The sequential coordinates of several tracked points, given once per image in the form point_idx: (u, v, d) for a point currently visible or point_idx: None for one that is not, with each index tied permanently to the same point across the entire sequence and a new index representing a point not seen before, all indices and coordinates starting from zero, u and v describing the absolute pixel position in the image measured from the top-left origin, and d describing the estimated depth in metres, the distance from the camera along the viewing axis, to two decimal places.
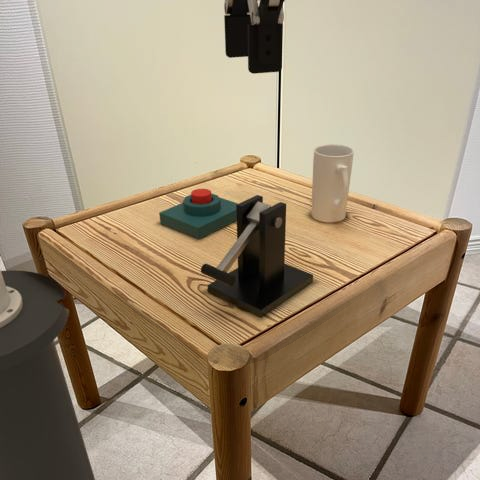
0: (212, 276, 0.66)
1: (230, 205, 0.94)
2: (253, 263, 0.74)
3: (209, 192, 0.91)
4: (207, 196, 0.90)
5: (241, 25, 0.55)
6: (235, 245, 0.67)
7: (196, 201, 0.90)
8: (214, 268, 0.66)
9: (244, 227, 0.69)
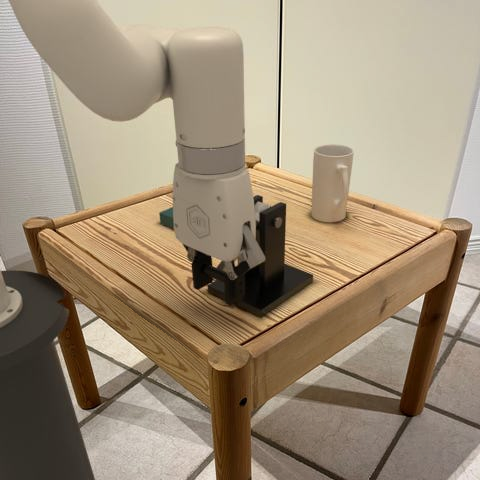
0: (212, 276, 0.66)
1: None
2: None
3: None
4: None
5: None
6: None
7: None
8: (214, 268, 0.66)
9: None
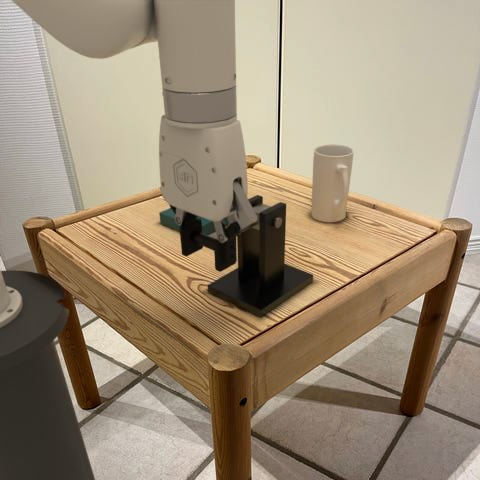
0: (202, 241, 0.62)
1: None
2: (253, 263, 0.74)
3: None
4: None
5: None
6: None
7: None
8: (206, 235, 0.63)
9: None
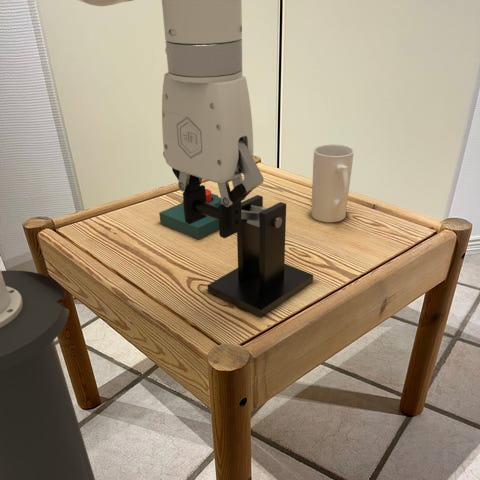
0: (206, 207, 0.60)
1: None
2: (253, 263, 0.74)
3: (209, 192, 0.91)
4: (207, 196, 0.90)
5: (197, 197, 0.62)
6: None
7: None
8: None
9: (244, 227, 0.69)
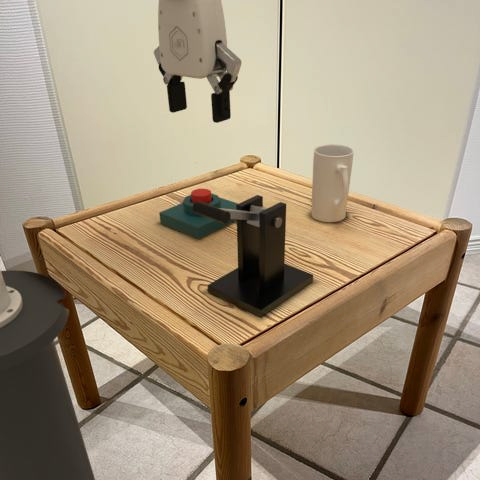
0: (205, 208, 0.60)
1: (230, 205, 0.94)
2: (253, 263, 0.74)
3: (209, 192, 0.91)
4: (207, 196, 0.90)
5: (178, 90, 0.79)
6: (235, 210, 0.64)
7: None
8: (210, 206, 0.61)
9: (244, 227, 0.69)
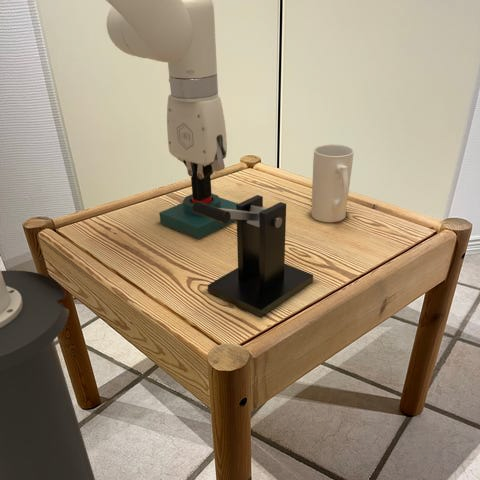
0: (205, 208, 0.60)
1: (230, 205, 0.94)
2: (253, 263, 0.74)
3: (209, 197, 0.91)
4: (207, 202, 0.91)
5: None
6: (235, 210, 0.64)
7: None
8: (210, 206, 0.61)
9: (244, 227, 0.69)
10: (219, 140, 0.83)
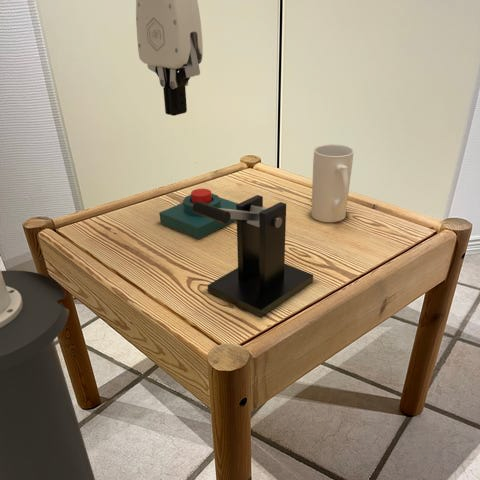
0: (205, 208, 0.60)
1: (230, 205, 0.94)
2: (253, 263, 0.74)
3: (209, 192, 0.91)
4: (207, 196, 0.90)
5: None
6: (235, 210, 0.64)
7: None
8: (210, 206, 0.61)
9: (244, 227, 0.69)
10: (194, 40, 0.74)
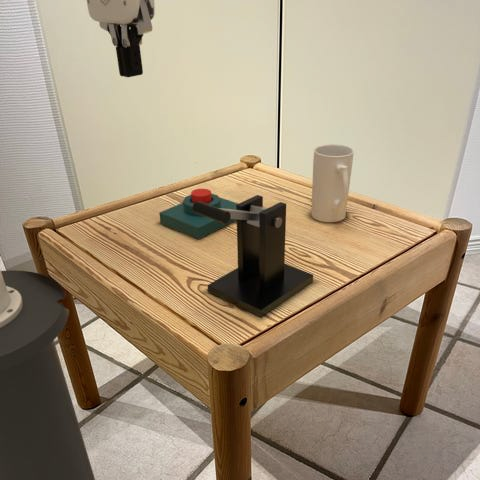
0: (205, 208, 0.60)
1: (230, 205, 0.94)
2: (253, 263, 0.74)
3: (209, 192, 0.91)
4: (207, 196, 0.90)
5: None
6: (235, 210, 0.64)
7: None
8: (210, 206, 0.61)
9: (244, 227, 0.69)
10: None
